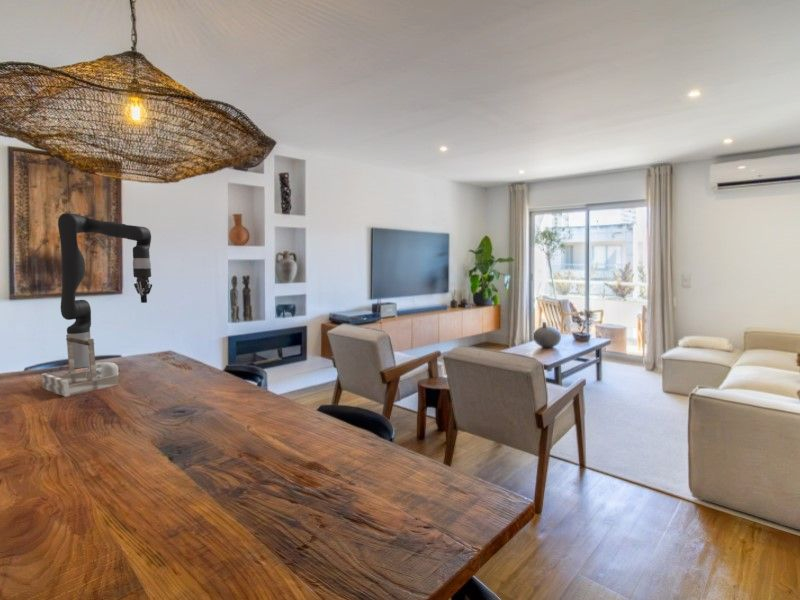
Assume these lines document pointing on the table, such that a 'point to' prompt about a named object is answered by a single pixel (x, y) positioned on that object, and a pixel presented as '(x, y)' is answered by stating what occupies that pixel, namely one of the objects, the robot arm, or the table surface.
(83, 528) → the table surface
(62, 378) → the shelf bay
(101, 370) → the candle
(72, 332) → the robot arm
